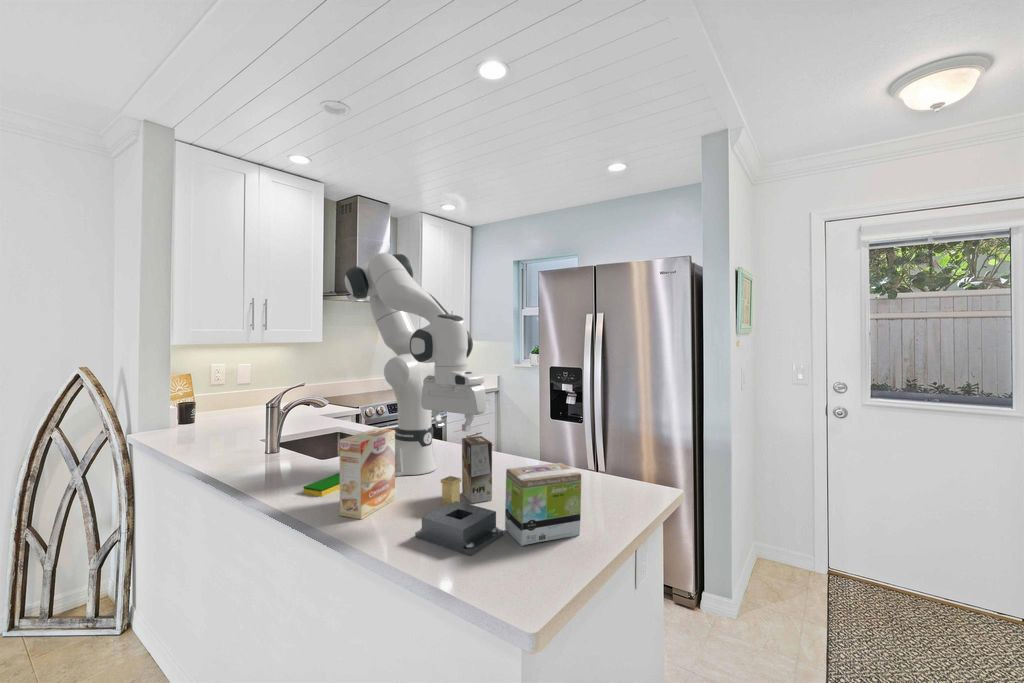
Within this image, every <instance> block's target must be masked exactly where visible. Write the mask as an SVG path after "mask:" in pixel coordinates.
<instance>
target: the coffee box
mask: <svg viewBox="0 0 1024 683" xmlns="http://www.w3.org/2000/svg"><path fill="white" fill-rule="evenodd" d="M461 474H462V476H461V477H462V478H461V485H462V486H461V488H462V489H461V490H462V491H461V492H462V493H461V494H463V496H464V497H465V498H466V499H467V500H468V501H469V502H470V504H476V503H482V502H491V501H492V500H493V442H491V441H490V440H488V439H487V438H485V437H484V436H482V435H478V436H470V437H469V436H468V437H463V438H461Z"/></svg>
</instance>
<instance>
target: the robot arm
mask: <svg viewBox="0 0 1024 683" xmlns="http://www.w3.org/2000/svg"><path fill="white" fill-rule="evenodd" d="M413 270H414V269H413V266H412V263H411V261H410V260H409V258H408V257H407V256H406V255H404V254H402V253H396V254H392V253H391V254H390V253H388V252H380V253H377V254H375V255H374V256H372V257H371V258H370V260H369V261H366V262H363V263H361V264H359V265H357V266H356V265H354V266H351V267H349V268H348V269H346V271H345V273H344V284H345V289H346V290H347V291H348V293H349V294H350V295H351V297H353V298H355V299H358V300H359V299H366V298H367V297H369V299H368V300H369V306H370V309H371V310H370V311H371V313H372V316H373V320H374V322H375V324H376V326H377V328H378V331H379V333H380V335H381V337H382V340H383V342H384V344H385V346H387V348H389V349H391V350H392V351H393V352H394V353H395V356H394V357H392V358H390V359H389V360H388V361H387V362H386V363H385V365H384V367H383V376H384V378H385V381H386V382H387V383H388V385H389V386H390V387H391V389H392V390H393V393H394V397H395V400H396V406H397V427H395V428H392V429H391V430H395V477H399V476H400V477H401V476H415V475H423V474H424V475H425V474H427V473H431V472H433V471H435V470H436V469H437V462H436V458H435V452H434V443H433V438H434V427H433V425H432V417H433V419H434V420H433V421H435V423H434V424H435V427H436V428H438V429H439V428H440V429H441V428H444V426H445V420H444V419H442V416H441V414H442V412H444V413H450V414H451V413H453V414H460V415H464V419H465V421H464V423H462V424H461V431H462V432H470V431H471V429H472V428H471V427H472V425H471V424H472V423H473V421H474V418H475V416H478V415H479V416H480V415H482V414H483V415H484V413H485V412H486V411H487V396H486V388H485V387H484V385H482V384H484V383H485V376H484V375H482V374H481V373H479V372H476V371H474V370H472V369H471V368H469V362H468V358H469V356H470V355H471V353H472V351H473V347H474V346H473V345H474V343H473V337H472V335H471V334H470V332H469V331H468V329H467V324H466V321H465V319H464V318H463V317H462V316H460V315H456V314H450V313H449V312H448V311H447V310H446V308H445V307H444V306H443V305H442V304H441V303H440V302H439V301H438V300H437V299H436V298H435V297H434V296H433V295H432V294H431V293H429V292H428V291H427V290H425V289H424V288H423V287H422V286H421V285H419V283H418V282H416V281H415V280H414V272H413ZM409 314H411V315H416V316H419V317H421V318H424V319H425V320H426V321H428V322H429V324H428V325H425V326H424V327H422V328H419V329H418V328H417V329H416V328H415V326H414V323H413V322H412V320H411V317H410V315H409Z"/></svg>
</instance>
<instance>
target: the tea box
mask: <svg viewBox="0 0 1024 683" xmlns="http://www.w3.org/2000/svg"><path fill="white" fill-rule="evenodd" d="M505 472H506V474H505V475H506V476H505V477H506V478H505V503H504V504H505V505H504V506H505V510H504V513H505V515H504V529H505V530H506V531H507V533H508V534H509V535H510V536H511V537H513V539H514V540H515V541H516V542H517V543H518V544H519V545H520V546H521V547H524V546H528V545H531V544H536V543H541V542H542V543H543V542H547V541H553V540H559V539H566V538H567V539H568V538H572V537H578V536H580V532H581V515H582V514H581V511H582V504H581V503H582V501H581V500H582V473H580V472H578V471H577V470H575V469H574V468H571V467H569V466H568V465H566V464H564V463H563V462H555V463H547V464H539V465H538V464H537V465H529V466H521V467H520V466H519V467H511V468H506V471H505Z"/></svg>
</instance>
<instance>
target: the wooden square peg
mask: <svg viewBox="0 0 1024 683" xmlns="http://www.w3.org/2000/svg"><path fill="white" fill-rule="evenodd" d="M440 483H441V488H442V489H441V491H442V493H441V496H442V497H441V500H442V501H441V508H442V507H444V506H446V505H448V504H451V503H453V502H455V501H459V502H461V501H460V500H461V497H460V492H461V491H460V490H461V489H460V485H461V484H460V483H462V478H461V477H458V476H453V475H449V476H446V477H444V478H441V479H440Z"/></svg>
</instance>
